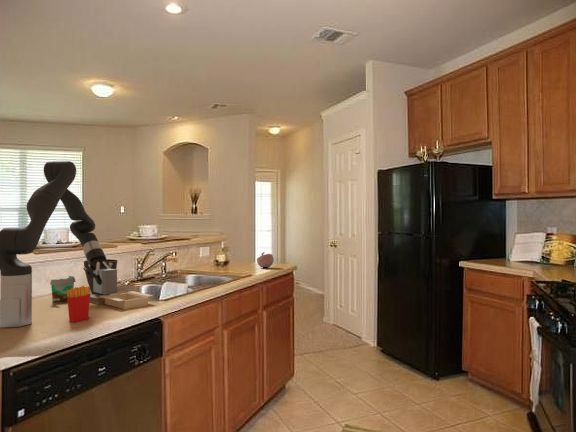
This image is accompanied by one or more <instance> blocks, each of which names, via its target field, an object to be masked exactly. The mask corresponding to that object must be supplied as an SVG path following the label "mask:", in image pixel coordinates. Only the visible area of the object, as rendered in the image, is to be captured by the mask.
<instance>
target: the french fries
mask: <svg viewBox="0 0 576 432" xmlns="http://www.w3.org/2000/svg"><path fill="white" fill-rule="evenodd" d="M89 291H90V287H89V285H88V286H85V285H82V286H78V287H76V286H74V288H71V289H70V290H69V289H68V290H67V291H66V292H67V295H68V297H67V300H68V301H67V308H68V309H67V311H68V318H69V320H68V321H69V322H70V323H79V322H83V321H88V319H89V316H90V315H89V314H90V304H91V302H90V295H91V293H89Z"/></svg>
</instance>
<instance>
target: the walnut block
mask: <svg viewBox="0 0 576 432" xmlns="http://www.w3.org/2000/svg"><path fill="white" fill-rule="evenodd" d="M115 294H120V293H119V292H117V293H114V294H107V295H106V296H108V295H115ZM103 295H104V294H101V293H100V294H92V293H91V294H90V303H93V304H95V305H103V304H105V298H102V297H99V296H103Z"/></svg>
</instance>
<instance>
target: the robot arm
mask: <svg viewBox="0 0 576 432" xmlns="http://www.w3.org/2000/svg"><path fill="white" fill-rule="evenodd" d="M43 175H44V178H45V180H46V181H47V183H45V184H43V185H42V186H39V188H37V189H36V190H35V191H34V192H33V193H32V194H31V196H30V198H29V199H28V200H27V203H26V211H27V214H28V216H29V218H30V222H29V223H28V224H27V226H24V227H3V228H2V229H1V230H0V328H20V327H22V326H23V327H24V326H27V325H30V324H32V323H33V267H32V265H31V264H30V263H25V262H23V261H22V260H20V259H19V258H18V257H17V255H30V254H32V253H33V252H34V251H35V250H36V248H37V246H38V245H39V241H40V240H41V237H42V234H43V233H44V232H43V231H44V229H45V228H46V226H47V223H48V221H49V219H50V218H51V216H52V214H54V211H55V209H56V208H57V207H58V204H59V202H60V201H61V203H62V204H63V207H64V208H65V211H66V213H67V215H68V218H69V219H70V220H71V221H73V222H71V223H70V225H69V231H70V232H71V233H72V234H73V236H75V238H76V239H77V240H78V242H79V243H80V245H81V247H82V250H83V255H84V256H85V258H86V261H88V263H89V265H88V264H85V266H84V265H83V268H82V269H83V271H84V272H86V273H87V275H88V276H89V277H90V278H92V277H93V278H95V280H96V282H97V284H99V285H101V283H102V280H101V278H100V275H99V273H98V269H106V268H107V269H110V268H111V269H117V268H116V264H115V262H113V263H109V262H108V261H107V260H106V259H107V256H106V254H105V252H104V250H103V247H102V245H101V244H100V242H99V241H98V237H97V236H96V234H95V233H93V231H94V230H95V229H96V223H95V221H94V220H93V219H92V217H90V216H89V215H88V213H87V212H86V209H85V208H84V205H83V203H82V201H81V199H80V198H79V197H78V196H77V195H76V194H74V192H72V191H71V190H70V189H69V187H70V186H71V185H72V184H73V183H74V181H75V179H76V175H77V167H76V165H75V163H73V161H69V160H51V161H46V162H45V164H44V166H43ZM109 266H110V267H109ZM91 269H93V270H94V272H93V271H92V270H91ZM86 273H85V274H86Z"/></svg>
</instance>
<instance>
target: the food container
mask: <svg viewBox="0 0 576 432" xmlns="http://www.w3.org/2000/svg"><path fill="white" fill-rule="evenodd" d="M75 283H76V277H75V276H73V275H69V276H68V277H67V278H59V279H50V284H49V285H51V287H50V288H51V297H52V303H65V302H66V303H68V300H67V297H68V295H67V292H66V291H67V290H68V289H69V290H70V289H71V288H75Z"/></svg>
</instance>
